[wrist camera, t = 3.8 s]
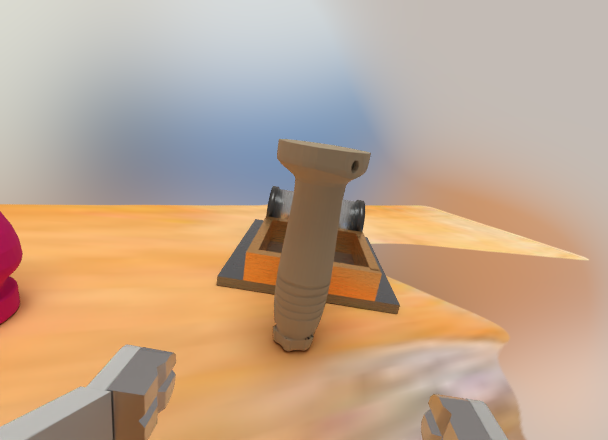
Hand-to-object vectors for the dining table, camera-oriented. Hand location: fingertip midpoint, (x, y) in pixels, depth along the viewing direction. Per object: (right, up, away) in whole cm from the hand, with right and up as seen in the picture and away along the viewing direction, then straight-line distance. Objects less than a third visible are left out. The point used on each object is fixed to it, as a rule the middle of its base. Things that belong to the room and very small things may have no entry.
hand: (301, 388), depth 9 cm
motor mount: (+1, 0, +29) cm, 29 cm away
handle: (-1, -4, +14) cm, 15 cm away
